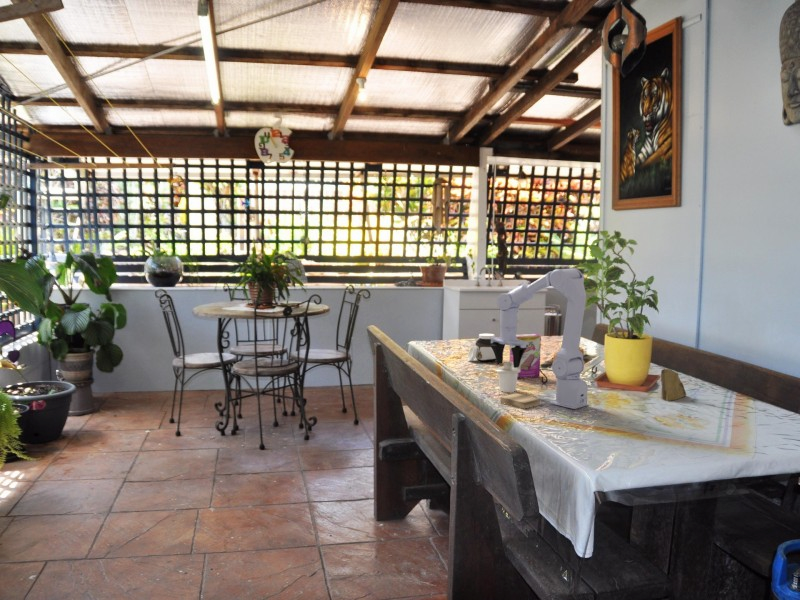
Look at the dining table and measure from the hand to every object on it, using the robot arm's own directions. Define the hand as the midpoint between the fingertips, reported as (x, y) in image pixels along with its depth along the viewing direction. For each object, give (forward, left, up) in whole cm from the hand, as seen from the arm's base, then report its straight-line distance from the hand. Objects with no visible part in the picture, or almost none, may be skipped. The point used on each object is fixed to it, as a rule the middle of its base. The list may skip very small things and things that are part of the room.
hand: (507, 365), depth 232 cm
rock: (-44, -34, -9) cm, 56 cm away
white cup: (0, 0, -9) cm, 9 cm away
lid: (0, 0, -2) cm, 2 cm away
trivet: (-14, +11, -9) cm, 20 cm away
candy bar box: (+10, -22, -9) cm, 26 cm away
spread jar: (+42, -33, -9) cm, 54 cm away
